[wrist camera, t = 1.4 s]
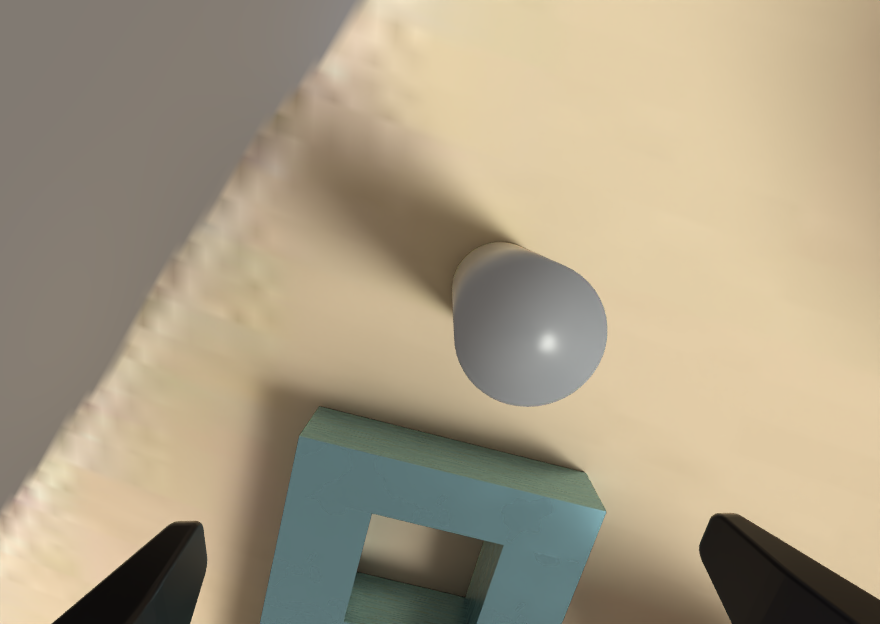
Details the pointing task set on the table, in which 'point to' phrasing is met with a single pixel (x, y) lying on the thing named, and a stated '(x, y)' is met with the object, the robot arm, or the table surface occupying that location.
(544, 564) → the plate
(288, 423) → the table surface
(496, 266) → the grey cylinder
